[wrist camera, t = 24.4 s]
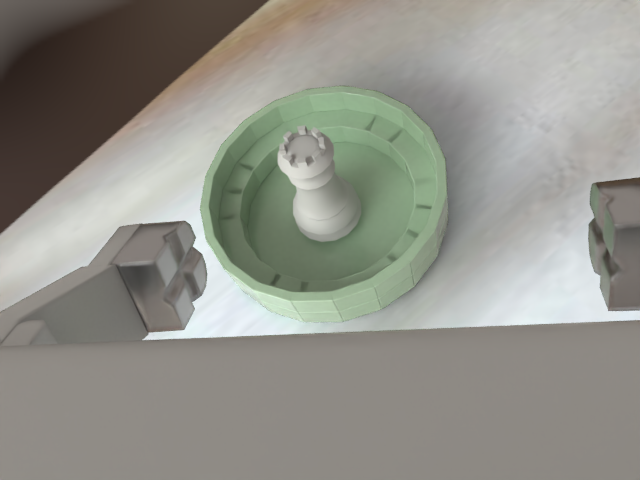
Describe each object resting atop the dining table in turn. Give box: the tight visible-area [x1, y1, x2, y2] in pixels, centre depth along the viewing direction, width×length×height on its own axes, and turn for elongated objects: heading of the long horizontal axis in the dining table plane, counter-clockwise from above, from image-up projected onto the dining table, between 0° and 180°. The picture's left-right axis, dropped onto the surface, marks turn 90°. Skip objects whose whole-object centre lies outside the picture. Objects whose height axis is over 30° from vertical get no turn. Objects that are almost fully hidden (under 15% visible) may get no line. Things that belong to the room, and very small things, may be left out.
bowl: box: [200, 86, 448, 322], centre depth 38 cm, size 15×15×4 cm
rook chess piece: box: [278, 125, 361, 242], centre depth 36 cm, size 4×4×8 cm
